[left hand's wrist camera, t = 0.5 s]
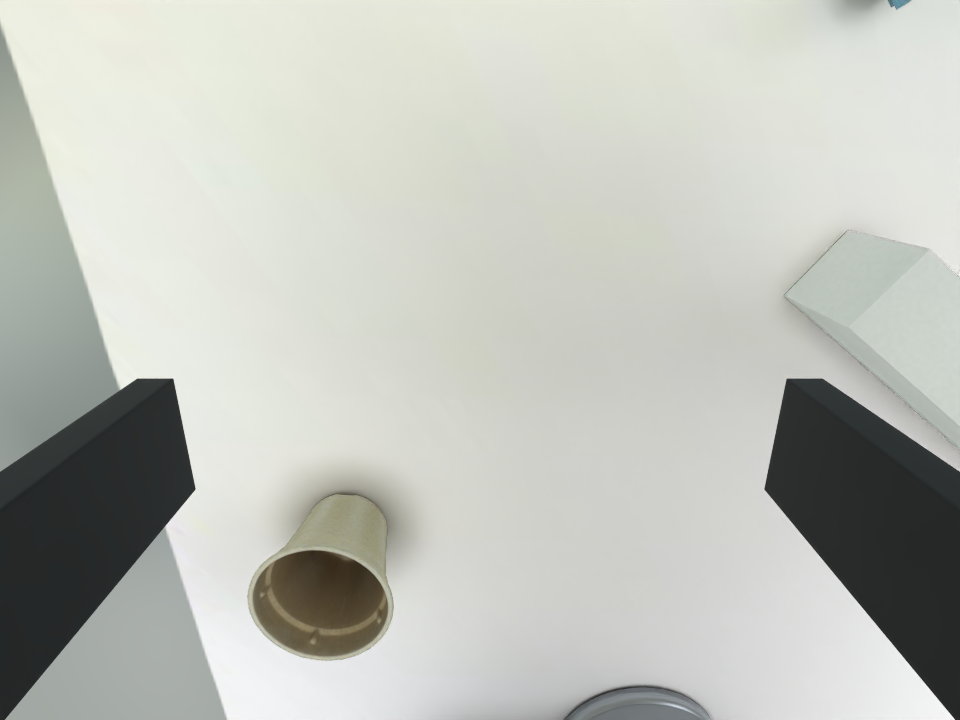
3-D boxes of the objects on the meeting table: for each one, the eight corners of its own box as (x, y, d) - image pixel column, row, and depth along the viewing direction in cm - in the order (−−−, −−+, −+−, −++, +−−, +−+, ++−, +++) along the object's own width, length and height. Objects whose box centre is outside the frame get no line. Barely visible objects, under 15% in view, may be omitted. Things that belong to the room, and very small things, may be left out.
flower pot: (311, 455, 43) (272, 526, 35) (426, 499, 45) (414, 578, 37) (273, 548, 46) (229, 633, 38) (382, 587, 48) (362, 677, 40)
